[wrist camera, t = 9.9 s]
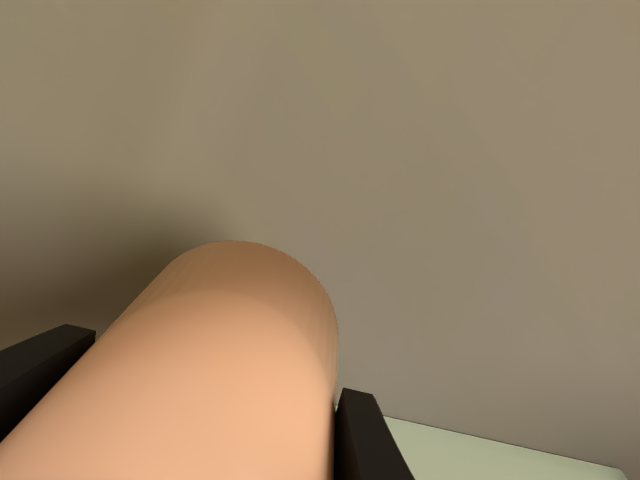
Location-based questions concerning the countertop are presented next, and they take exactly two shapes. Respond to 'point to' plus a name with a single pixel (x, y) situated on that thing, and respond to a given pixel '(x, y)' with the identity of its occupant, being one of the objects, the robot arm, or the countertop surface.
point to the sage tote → (484, 458)
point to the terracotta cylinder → (197, 381)
